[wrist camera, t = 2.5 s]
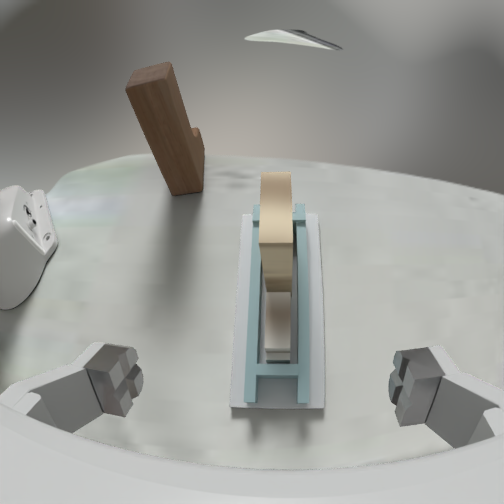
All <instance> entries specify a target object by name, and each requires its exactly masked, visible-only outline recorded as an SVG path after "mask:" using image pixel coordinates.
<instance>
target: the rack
mask: <svg viewBox="0 0 504 504" xmlns="http://www.w3.org/2000/svg"><path fill="white" fill-rule="evenodd" d="M259 221H260V205H254V209H253V214H242V225H241V238H240V252H239V266H238V280H237V295H236V310H235V325H234V341H233V356H232V373H231V389H230V407H240V408H265V409H313V408H324V399H325V361H324V316H323V291H322V272H321V255H320V241H319V227H318V215H317V213H305V204H296V211H295V212H292V222H293V266H292V297H291V333H290V363H267V362H266V351H265V320H266V292H267V291H266V285H265V279H264V273H263V267H262V260H261V254H260V248H259Z"/></svg>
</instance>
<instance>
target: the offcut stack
mask: <svg viewBox="0 0 504 504" xmlns="http://www.w3.org/2000/svg"><path fill="white" fill-rule="evenodd" d="M290 333H291V292H266V320H265V351H266V362H267V363H290Z"/></svg>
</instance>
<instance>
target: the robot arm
mask: <svg viewBox="0 0 504 504" xmlns="http://www.w3.org/2000/svg"><path fill="white" fill-rule="evenodd" d="M57 245H58V240H57V237H56V233H55V230H54V226H53V223H52V219H51V215H50V211H49V207H48V203H47V199H46V195H45V193H44V191H42V190H34V191H32V192H29V193H27V192H26V191H25V190H24V189H23V188H22V187H20V186H17V185H14V186H9V187H7V188H4V189H1V190H0V309H4V310H7V309H12V308H14V307H16V306H18V305H19V304H21V303H22V302H23V301H24V300H25V299H26V298H27V297H28V296H29V295H30V293H31V292H32V291H33V289H34V288H35V286H36V284H37V283H38V281H39V279H40V277H41V274H42V272H43V269H44V267H45V264H46V262H47V260H48V259H49V258H50V256H51V255H52V254H53V252H54V251H55V249H56V247H57ZM137 360H138V355H137V352H136V350H135V349H134V348H133V347H129V346H122V345H115V344H109V343H108V344H107V343H102V342H93V343H92V344H91V345H90V346H89V347H88V348H87V349H86V350H85V351H84V352H83V353H82V354H81V355H80V356H79V357H78V358H77V359H76V360H75V361H74V362H73V363H72V364H71V365H68V364H66V365H63V366H61V367H58V368H55V369H53V370H50V371H47V372H44V373H41V374H39V375H36V376H33V377H30V378H27V379H24V380H22V381H19V382H16V383H13V384H12V385H11V386H10V387H8V388H7V389H6V390H5V391H4V392H3V393H2V394H1V395H0V504H504V390H503V389H500V388H498V387H496V386H494V385H492V384H490V383H487V382H485V381H483V380H481V379H479V378H477V377H474V376H472V375H470V374H468V373H466V372H464V373H461V372H460V370H459V369H458V368H457V366H456V365H455V363H454V362H453V361H452V359H451V358H450V356H449V355H448V354H447V352H446V351H445V349H444V348H443V347H442V346H440V345H437V346H431V347H426V348H418V349H410V350H402V351H396V353H395V355H394V360H393V364H394V366H395V368H396V369H395V370H394V371H393V372H392V373H391V374H390V379H389V397H390V400H391V402H392V403H393V404H395V405H396V409H395V414H396V417H397V420H398V423H399V426H400V427H401V426H409V425H416V424H423V423H425V425H427V426H428V427H429V428H430V429H431V430H433V431H434V432H435V433H436V434H437V435H439V436H440V437H441V438H442V439H444V440H445V441H446V442H447V443H449V444H450V445H451V446H452V447H453V448H455V449H452V450H448V451H444V452H440V453H435V454H431V455H427V456H422V457H417V458H412V459H407V460H401V461H395V462H389V463H382V464H374V465H366V466H357V467H345V468H331V469H307V470H276V469H251V468H236V467H225V466H215V465H207V464H199V463H192V462H185V461H179V460H173V459H168V458H162V457H157V456H152V455H148V454H143V453H139V452H134V451H130V450H126V449H122V448H118V447H115V446H111V445H108V444H104V443H101V442H97V441H94V440H91V439H88V438H84V437H81V436H78V435H75V434H73V432H75V431H76V430H78V429H80V428H81V427H83V426H85V425H86V424H88V423H89V422H91V421H93V420H94V419H96V418H97V417H99V416H101V415H102V414H103V413H107V414H112V415H117V416H122V417H126V415H127V413H128V412H129V410H130V409H131V407H132V405H133V402H132V399H133V398H135V397H137V396H139V394H140V392H141V390H142V386H143V374H142V370H141V369H140V367H139V366H138V365H137V364H136V362H137Z"/></svg>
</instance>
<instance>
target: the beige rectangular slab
mask: <svg viewBox="0 0 504 504" xmlns="http://www.w3.org/2000/svg"><path fill="white" fill-rule="evenodd" d="M259 248H260V254H261V260H262V267H263V273H264V279H265V285H266V291H267V292H291V297H292V266H293V222H292V193H291V172H261V194H260V221H259Z"/></svg>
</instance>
